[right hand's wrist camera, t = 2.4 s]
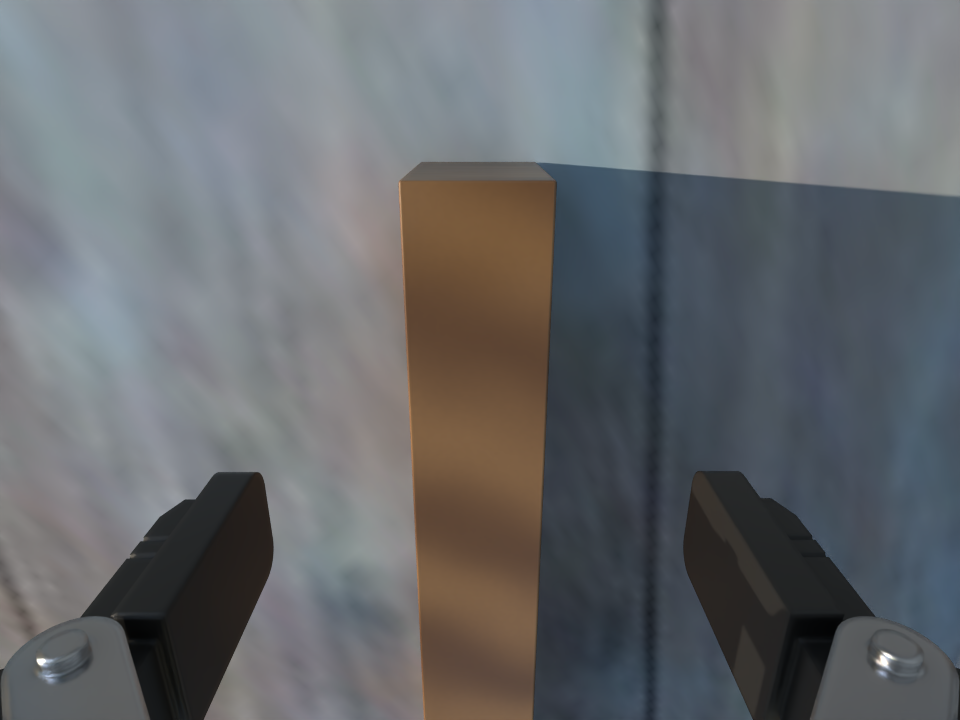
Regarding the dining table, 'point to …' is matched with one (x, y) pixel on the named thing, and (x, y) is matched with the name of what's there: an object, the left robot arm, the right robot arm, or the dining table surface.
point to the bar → (478, 424)
